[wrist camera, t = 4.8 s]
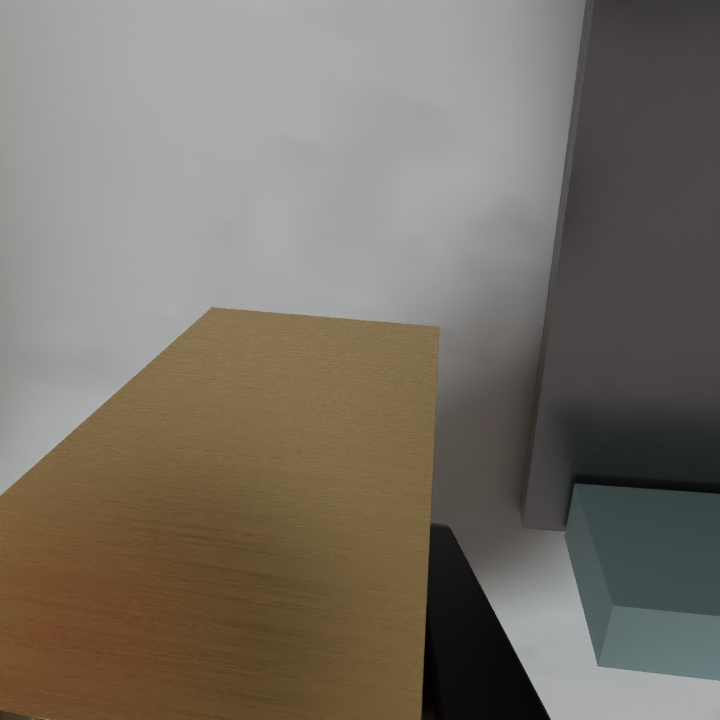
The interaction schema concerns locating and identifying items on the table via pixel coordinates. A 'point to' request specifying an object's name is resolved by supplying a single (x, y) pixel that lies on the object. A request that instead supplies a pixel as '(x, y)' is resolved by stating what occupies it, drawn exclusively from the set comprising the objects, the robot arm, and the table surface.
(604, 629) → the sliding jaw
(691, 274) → the vise base
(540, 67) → the table surface
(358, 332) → the brass block
